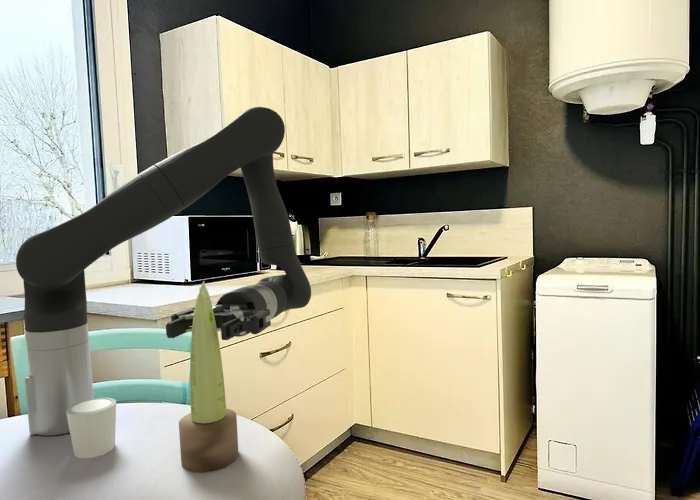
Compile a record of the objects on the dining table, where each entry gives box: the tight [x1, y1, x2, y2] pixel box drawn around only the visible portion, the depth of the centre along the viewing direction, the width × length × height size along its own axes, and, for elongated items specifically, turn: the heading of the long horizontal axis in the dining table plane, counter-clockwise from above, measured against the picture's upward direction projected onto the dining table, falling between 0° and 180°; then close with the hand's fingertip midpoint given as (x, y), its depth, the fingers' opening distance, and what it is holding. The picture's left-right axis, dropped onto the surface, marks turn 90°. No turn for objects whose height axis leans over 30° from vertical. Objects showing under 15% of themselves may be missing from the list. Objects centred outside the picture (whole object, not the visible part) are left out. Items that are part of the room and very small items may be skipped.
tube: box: [189, 280, 227, 424], centre depth 73 cm, size 6×5×20 cm
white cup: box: [66, 397, 117, 459], centre depth 78 cm, size 7×7×7 cm
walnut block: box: [178, 408, 240, 474], centre depth 74 cm, size 8×8×6 cm
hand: (195, 332), depth 71 cm, fingers open, 8 cm apart
